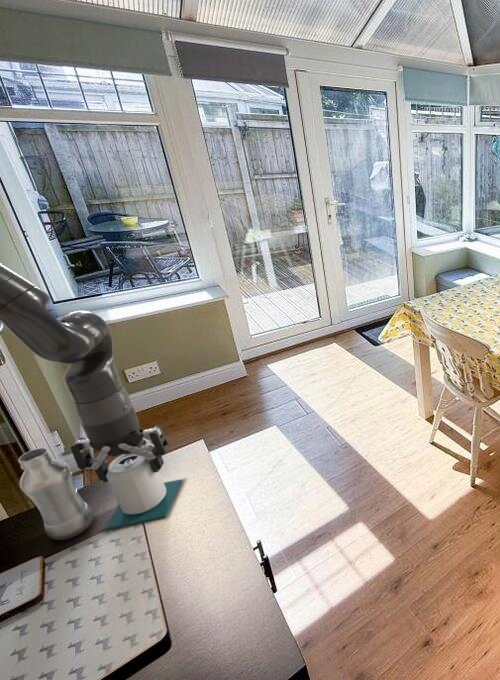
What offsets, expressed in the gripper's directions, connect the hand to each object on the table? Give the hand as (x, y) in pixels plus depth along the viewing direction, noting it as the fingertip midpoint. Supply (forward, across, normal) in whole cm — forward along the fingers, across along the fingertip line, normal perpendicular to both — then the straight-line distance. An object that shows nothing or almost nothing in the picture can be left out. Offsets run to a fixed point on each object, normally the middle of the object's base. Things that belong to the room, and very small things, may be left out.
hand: (133, 474), depth 86 cm
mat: (+9, 0, 0) cm, 9 cm away
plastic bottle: (+9, +11, +3) cm, 15 cm away
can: (+8, 0, 0) cm, 8 cm away
